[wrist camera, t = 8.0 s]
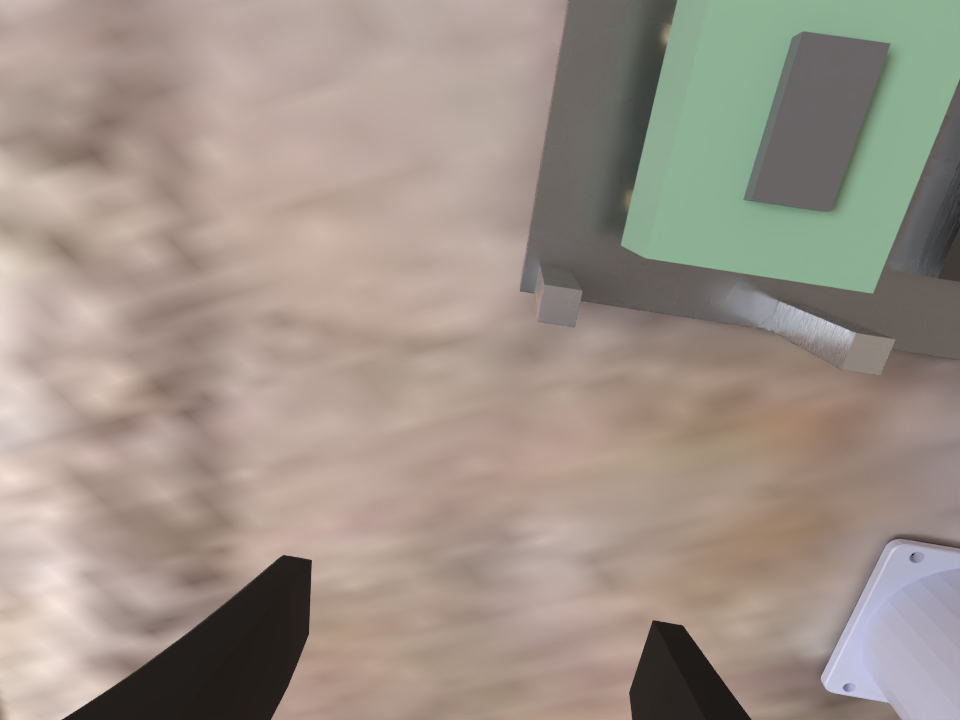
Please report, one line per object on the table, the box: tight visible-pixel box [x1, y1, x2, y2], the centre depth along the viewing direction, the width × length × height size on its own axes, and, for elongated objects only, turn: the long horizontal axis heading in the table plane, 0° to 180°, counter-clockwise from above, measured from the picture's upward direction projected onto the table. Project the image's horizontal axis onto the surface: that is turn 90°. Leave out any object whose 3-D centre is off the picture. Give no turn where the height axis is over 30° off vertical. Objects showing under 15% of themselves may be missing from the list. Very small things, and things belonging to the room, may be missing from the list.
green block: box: [621, 0, 960, 294], centre depth 11 cm, size 5×8×3 cm, turn 172°
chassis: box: [520, 0, 960, 376], centre depth 13 cm, size 18×12×5 cm, turn 82°
